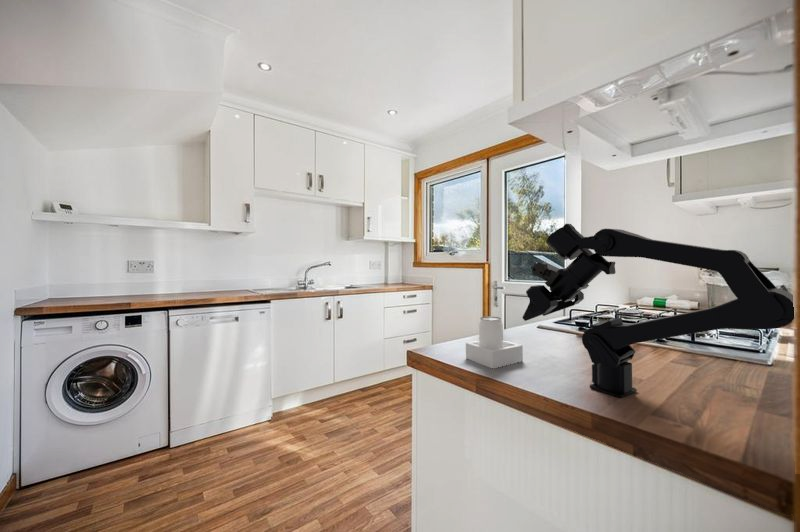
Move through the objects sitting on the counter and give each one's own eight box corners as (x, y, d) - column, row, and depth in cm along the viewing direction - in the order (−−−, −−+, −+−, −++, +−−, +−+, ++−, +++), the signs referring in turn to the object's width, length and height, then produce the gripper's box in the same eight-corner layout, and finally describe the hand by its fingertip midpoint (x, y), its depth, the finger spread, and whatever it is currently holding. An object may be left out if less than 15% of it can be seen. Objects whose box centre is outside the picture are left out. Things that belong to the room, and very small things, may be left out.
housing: (522, 361, 92) (522, 345, 92) (493, 368, 86) (492, 351, 86) (494, 352, 101) (493, 337, 101) (466, 358, 96) (465, 342, 96)
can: (482, 364, 90) (481, 320, 90) (477, 357, 96) (476, 316, 96) (506, 364, 90) (505, 319, 90) (499, 357, 96) (498, 315, 96)
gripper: (570, 249, 86) (530, 290, 95) (533, 250, 74) (492, 296, 83) (604, 281, 80) (559, 321, 89) (570, 287, 68) (522, 332, 77)
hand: (533, 316), depth 85 cm, fingers open, 9 cm apart
